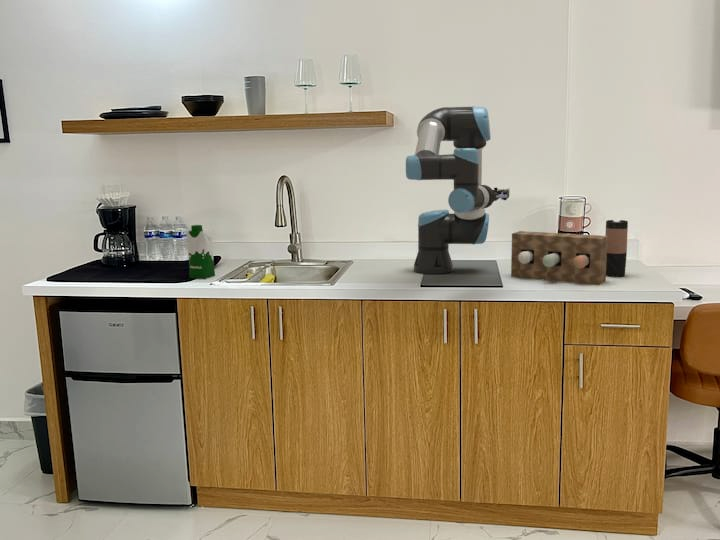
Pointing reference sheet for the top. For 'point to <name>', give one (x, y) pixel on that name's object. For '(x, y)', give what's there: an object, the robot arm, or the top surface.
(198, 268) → the milk carton
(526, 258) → the cream button
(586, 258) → the terracotta button
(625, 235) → the travel mug
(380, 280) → the top surface
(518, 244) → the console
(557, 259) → the sage button
